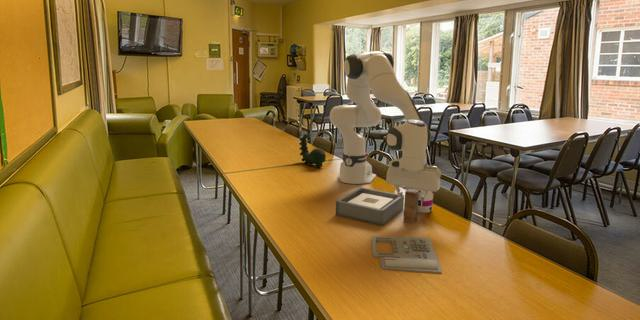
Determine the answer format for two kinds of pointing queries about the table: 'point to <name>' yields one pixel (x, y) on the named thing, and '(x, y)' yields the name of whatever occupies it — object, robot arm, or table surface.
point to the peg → (411, 206)
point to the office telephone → (408, 254)
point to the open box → (369, 206)
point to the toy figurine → (311, 153)
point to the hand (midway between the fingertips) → (411, 198)
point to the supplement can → (424, 205)
